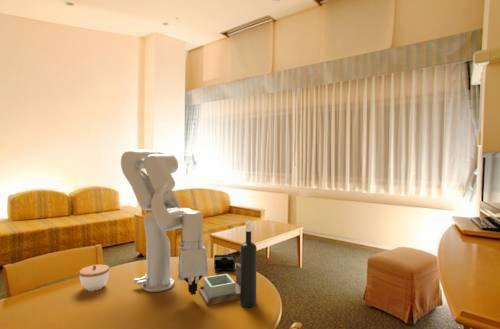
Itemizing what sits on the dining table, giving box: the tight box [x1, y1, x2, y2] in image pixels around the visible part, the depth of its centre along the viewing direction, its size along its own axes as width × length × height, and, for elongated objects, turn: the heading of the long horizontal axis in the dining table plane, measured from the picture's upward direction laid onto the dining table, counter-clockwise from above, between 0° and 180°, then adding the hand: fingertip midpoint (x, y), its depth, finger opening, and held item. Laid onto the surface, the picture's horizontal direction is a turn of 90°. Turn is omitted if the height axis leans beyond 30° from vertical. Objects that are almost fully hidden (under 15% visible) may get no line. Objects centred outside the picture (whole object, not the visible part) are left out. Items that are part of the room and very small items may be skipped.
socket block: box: [203, 273, 236, 298], centre depth 113 cm, size 10×10×4 cm
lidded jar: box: [79, 264, 110, 292], centre depth 118 cm, size 11×11×9 cm
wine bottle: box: [239, 220, 258, 309], centre depth 105 cm, size 6×6×30 cm
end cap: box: [213, 254, 236, 273], centre depth 139 cm, size 10×7×7 cm
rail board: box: [198, 262, 241, 306], centre depth 113 cm, size 17×12×9 cm
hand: (192, 293), depth 108 cm, fingers closed
